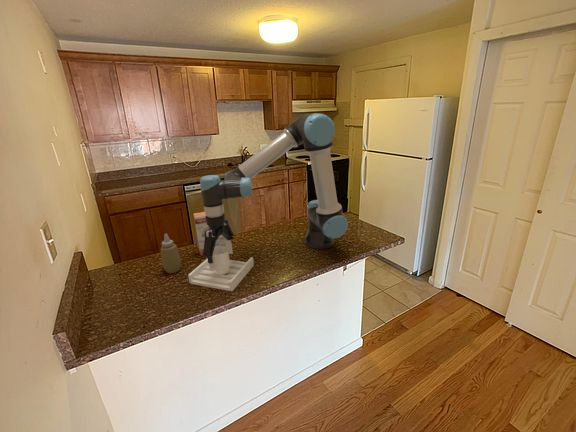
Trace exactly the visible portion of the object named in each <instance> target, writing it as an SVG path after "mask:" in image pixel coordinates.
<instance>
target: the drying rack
mask: <svg viewBox="0 0 576 432" xmlns="http://www.w3.org/2000/svg"><path fill="white" fill-rule="evenodd" d="M229 262H230V265H229V266H230V270H229V272H228V273H226V274H223V275H217V274H215V273H214V271H213V269H210V268H209V263H208V259H207V258H206V259H205V260H204V261H203V262H201V263H200V264H199V265H198V266H197V267H195V268H194V269H193V270H192V271H190V273H188V275H187V276H188V280H189V284H191V285H197V286H202V287H206V288H212V289H217V290H222V291H229V292H233V291H234V290H235V289H236V288H237V287H238V285H239V284H240V282H242V281H243V279H244V278H245V277H246V276H247V274H248V273H250V271H251V269H252V268H253V267H254V266H255V265H254V263H255V262H254V257H253V256H252V257H249V259H248V260H247V261H240V260H232V259H229Z"/></svg>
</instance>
